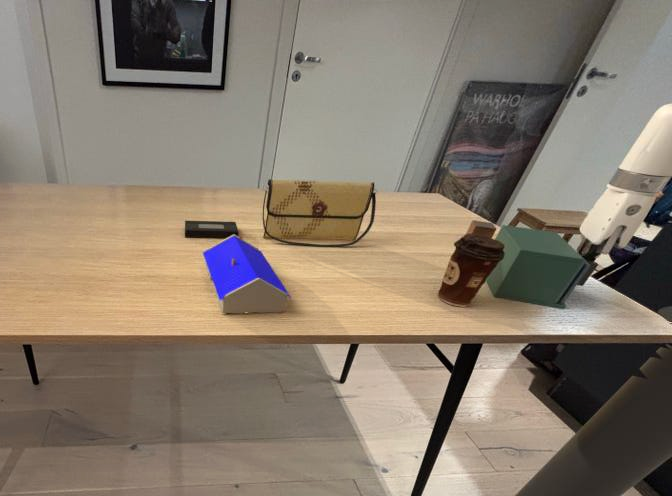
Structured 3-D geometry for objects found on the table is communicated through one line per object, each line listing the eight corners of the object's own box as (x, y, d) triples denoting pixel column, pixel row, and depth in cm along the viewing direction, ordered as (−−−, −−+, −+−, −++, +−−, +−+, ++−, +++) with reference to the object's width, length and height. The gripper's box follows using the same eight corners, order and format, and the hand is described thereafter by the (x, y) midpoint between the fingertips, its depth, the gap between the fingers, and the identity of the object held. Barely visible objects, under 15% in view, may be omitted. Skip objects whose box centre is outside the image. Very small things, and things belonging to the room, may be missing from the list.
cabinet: (541, 277, 92) (569, 234, 86) (564, 309, 81) (599, 261, 74) (479, 267, 95) (502, 224, 89) (493, 296, 84) (521, 249, 77)
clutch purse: (259, 245, 102) (268, 184, 93) (255, 235, 108) (263, 177, 98) (370, 248, 103) (390, 188, 94) (360, 238, 109) (378, 180, 99)
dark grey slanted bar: (573, 290, 85) (600, 254, 80) (588, 307, 79) (617, 269, 74) (548, 286, 86) (572, 250, 81) (560, 302, 80) (587, 264, 75)
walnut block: (483, 240, 110) (492, 222, 107) (487, 246, 107) (496, 228, 103) (464, 237, 112) (472, 220, 108) (466, 243, 108) (475, 225, 105)
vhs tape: (184, 227, 111) (185, 220, 109) (234, 228, 111) (235, 221, 110) (185, 237, 105) (185, 230, 103) (237, 238, 105) (238, 231, 104)
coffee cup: (431, 303, 81) (460, 243, 72) (428, 286, 87) (455, 229, 79) (478, 313, 78) (514, 251, 70) (472, 295, 84) (505, 236, 76)
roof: (202, 265, 91) (203, 234, 87) (259, 263, 93) (263, 233, 89) (218, 314, 74) (221, 279, 70) (288, 311, 76) (295, 277, 72)
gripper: (684, 195, 67) (609, 290, 78) (642, 176, 78) (582, 262, 89) (630, 189, 69) (565, 283, 80) (597, 171, 80) (543, 256, 91)
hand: (574, 271), depth 84 cm, fingers closed
